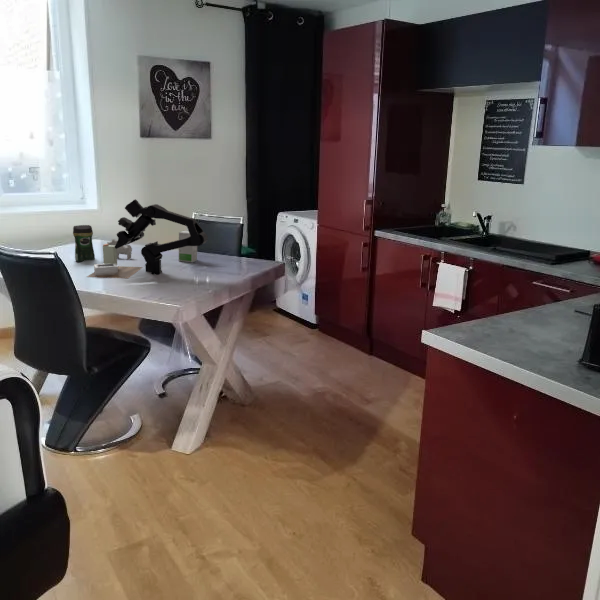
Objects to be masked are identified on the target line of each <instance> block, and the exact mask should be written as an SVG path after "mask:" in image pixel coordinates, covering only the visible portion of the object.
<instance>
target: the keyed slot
mask: <svg viewBox="0 0 600 600" xmlns="http://www.w3.org/2000/svg"><path fill="white" fill-rule="evenodd" d="M93 271H94V272H93V273H95V276H107V275H118V263H117V264H116V263H110V264H104V263H94V264H93Z"/></svg>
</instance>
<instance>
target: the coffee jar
mask: <svg viewBox="0 0 600 600" xmlns="http://www.w3.org/2000/svg"><path fill="white" fill-rule="evenodd" d="M72 234H73V235H72V236H74V245H75V246H74V249H75V250H74V261H76V262H79V263H83V262H86V261H94V260H96V256H95V250H94V245H93V236H94V235H93V234H94V232H93V227H92V225H90V224H82V225H74V226H73V228H72Z"/></svg>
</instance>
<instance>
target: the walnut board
mask: <svg viewBox="0 0 600 600" xmlns="http://www.w3.org/2000/svg"><path fill="white" fill-rule="evenodd" d="M117 266H118V265H117ZM142 268H144V267H143V266H141V267H140V266H122V265H121V266H120V265H119V266H118V275H107V276H95V273H94V272H91V274H89V275H87V276H86V278H101V279H102V278H103V279H104V278H105V279H107V278H108V279H129V278H131V277H132V276H133V275H135V274H136V273H137V272H139V271H140V270H141V269H142Z"/></svg>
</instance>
